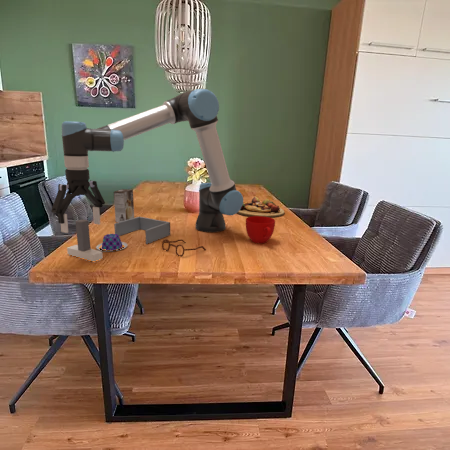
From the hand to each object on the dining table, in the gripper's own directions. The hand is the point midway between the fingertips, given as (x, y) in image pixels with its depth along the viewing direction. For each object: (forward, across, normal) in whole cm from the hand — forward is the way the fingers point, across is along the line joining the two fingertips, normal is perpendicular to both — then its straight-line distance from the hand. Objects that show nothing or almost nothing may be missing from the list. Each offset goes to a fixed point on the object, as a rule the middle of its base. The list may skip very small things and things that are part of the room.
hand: (81, 227), depth 116 cm
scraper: (+11, 0, 0) cm, 11 cm away
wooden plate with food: (+11, -108, +25) cm, 112 cm away
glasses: (+12, -27, +26) cm, 39 cm away
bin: (+11, -32, 0) cm, 34 cm away
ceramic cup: (+11, -53, +49) cm, 73 cm away
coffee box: (+11, -47, -26) cm, 55 cm away
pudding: (+12, -13, 0) cm, 18 cm away
